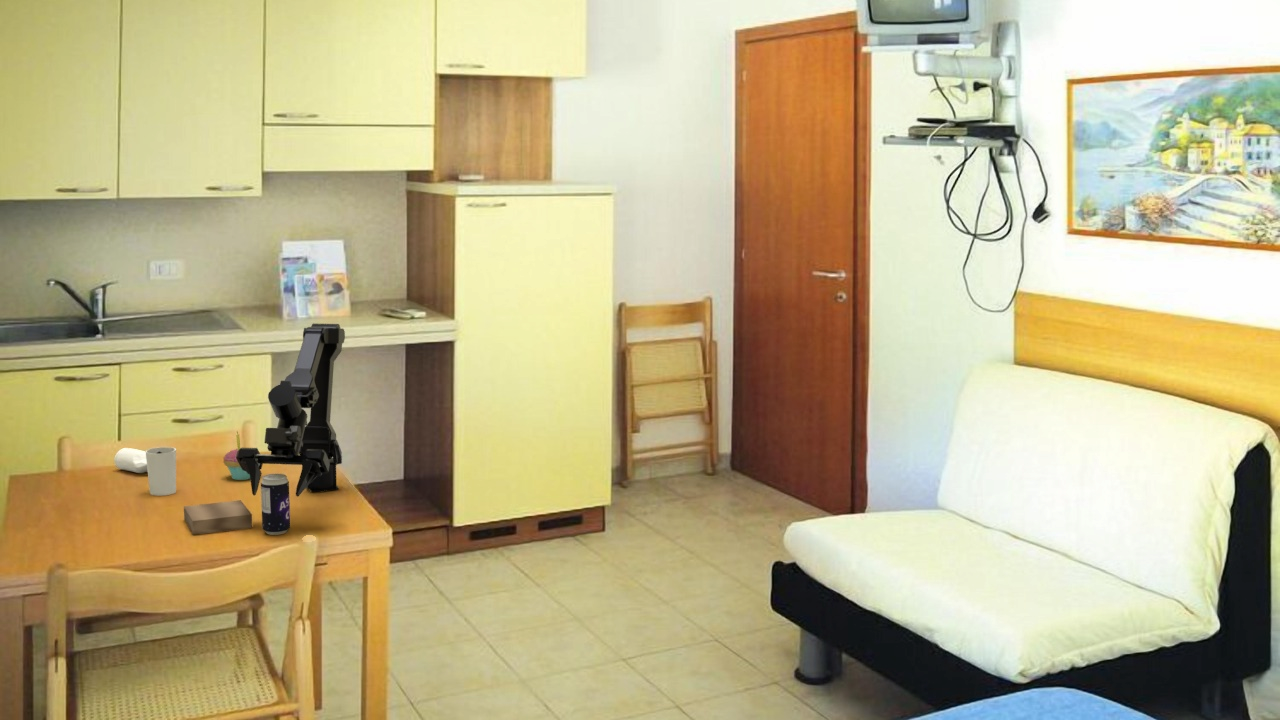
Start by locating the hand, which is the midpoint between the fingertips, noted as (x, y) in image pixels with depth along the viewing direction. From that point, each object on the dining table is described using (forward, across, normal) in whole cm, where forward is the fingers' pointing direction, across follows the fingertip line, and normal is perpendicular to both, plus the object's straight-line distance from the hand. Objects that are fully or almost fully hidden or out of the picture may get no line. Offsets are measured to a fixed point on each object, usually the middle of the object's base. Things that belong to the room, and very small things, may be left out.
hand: (275, 495), depth 277 cm
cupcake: (-24, -22, +36) cm, 49 cm away
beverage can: (+6, 0, +6) cm, 8 cm away
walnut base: (+2, -14, +9) cm, 17 cm away
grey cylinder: (-14, -36, +25) cm, 46 cm away
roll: (-26, -48, +38) cm, 67 cm away
